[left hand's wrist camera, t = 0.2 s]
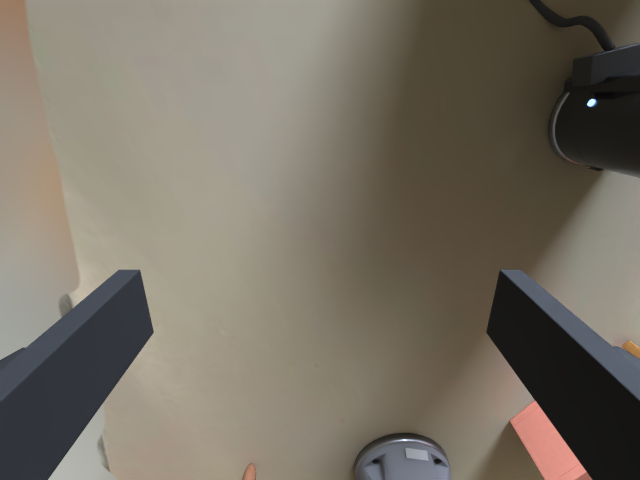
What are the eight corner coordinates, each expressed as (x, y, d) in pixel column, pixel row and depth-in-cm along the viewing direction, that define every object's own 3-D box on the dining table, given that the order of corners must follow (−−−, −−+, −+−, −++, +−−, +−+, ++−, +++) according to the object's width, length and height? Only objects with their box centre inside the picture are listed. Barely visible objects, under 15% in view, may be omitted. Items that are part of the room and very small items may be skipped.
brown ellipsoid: (260, 463, 57) (255, 495, 52) (254, 470, 57) (248, 502, 53) (249, 458, 56) (243, 490, 52) (243, 465, 57) (236, 497, 52)
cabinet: (602, 346, 48) (676, 411, 38) (651, 383, 51) (733, 453, 41) (509, 420, 53) (553, 494, 43) (558, 450, 56) (610, 526, 46)
